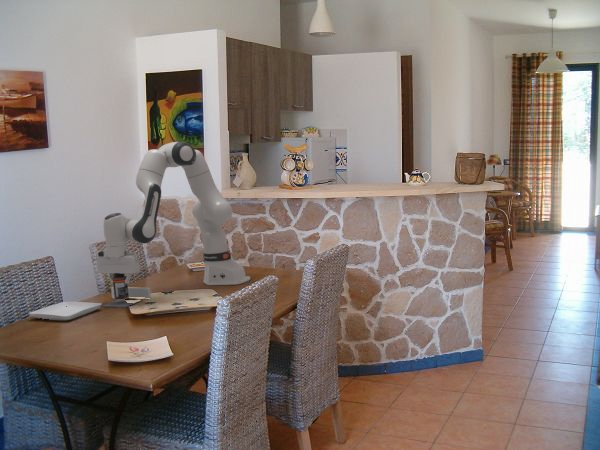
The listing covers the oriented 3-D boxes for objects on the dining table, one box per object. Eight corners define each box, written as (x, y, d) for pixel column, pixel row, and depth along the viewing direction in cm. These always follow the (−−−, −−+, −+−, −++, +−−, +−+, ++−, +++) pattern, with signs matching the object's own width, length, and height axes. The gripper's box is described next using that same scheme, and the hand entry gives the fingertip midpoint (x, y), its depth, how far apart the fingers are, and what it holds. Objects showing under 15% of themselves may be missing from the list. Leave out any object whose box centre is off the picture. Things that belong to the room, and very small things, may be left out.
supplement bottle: (115, 297, 314) (113, 271, 313) (129, 295, 315) (127, 270, 313) (113, 300, 309) (110, 273, 307) (127, 298, 309) (125, 272, 308)
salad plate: (104, 310, 304) (103, 302, 304) (68, 323, 285) (67, 315, 285) (65, 308, 313) (64, 300, 313) (28, 321, 294) (27, 313, 294)
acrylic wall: (151, 298, 318) (149, 287, 317) (149, 299, 316) (148, 288, 316) (113, 297, 326) (112, 286, 325) (112, 298, 325) (110, 287, 324)
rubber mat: (142, 300, 315) (142, 299, 315) (125, 307, 304) (125, 306, 304) (119, 300, 320) (119, 298, 320) (102, 306, 309) (102, 305, 309)
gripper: (141, 250, 308) (144, 282, 310) (102, 250, 316) (106, 281, 318) (132, 253, 302) (135, 285, 304) (93, 253, 310) (96, 284, 312)
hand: (120, 283), depth 311 cm, fingers closed on supplement bottle, 6 cm apart
